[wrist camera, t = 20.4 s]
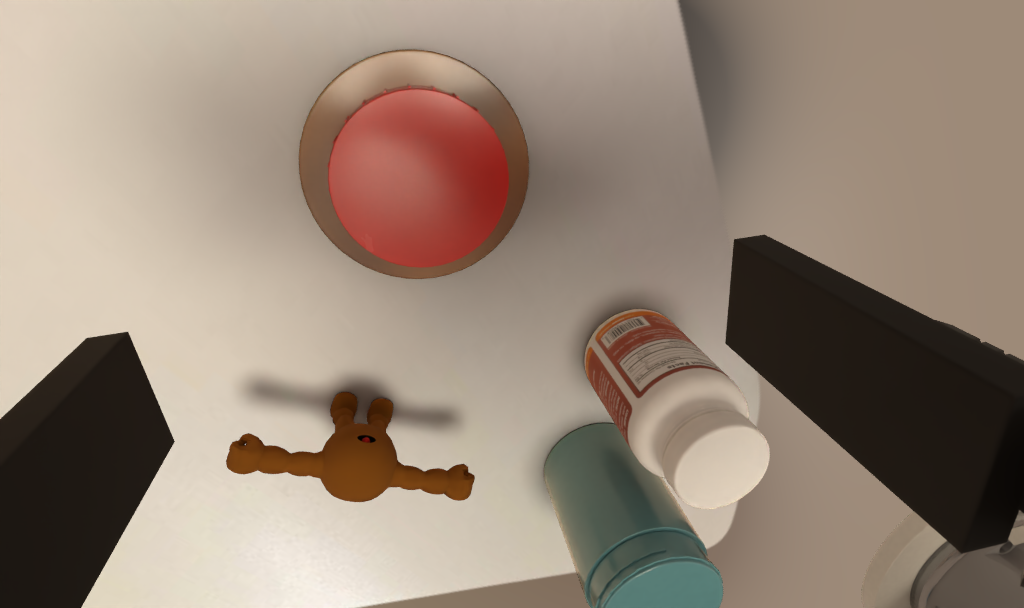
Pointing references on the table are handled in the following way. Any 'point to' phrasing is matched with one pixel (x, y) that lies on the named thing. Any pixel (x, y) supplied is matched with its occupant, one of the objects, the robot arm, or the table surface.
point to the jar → (626, 527)
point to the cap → (418, 176)
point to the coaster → (389, 74)
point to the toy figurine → (351, 458)
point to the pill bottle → (676, 409)
